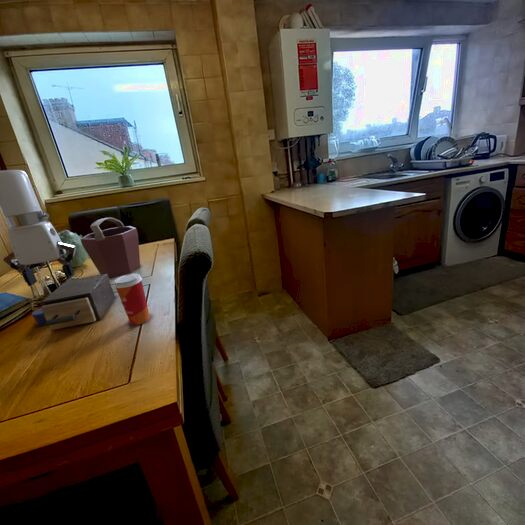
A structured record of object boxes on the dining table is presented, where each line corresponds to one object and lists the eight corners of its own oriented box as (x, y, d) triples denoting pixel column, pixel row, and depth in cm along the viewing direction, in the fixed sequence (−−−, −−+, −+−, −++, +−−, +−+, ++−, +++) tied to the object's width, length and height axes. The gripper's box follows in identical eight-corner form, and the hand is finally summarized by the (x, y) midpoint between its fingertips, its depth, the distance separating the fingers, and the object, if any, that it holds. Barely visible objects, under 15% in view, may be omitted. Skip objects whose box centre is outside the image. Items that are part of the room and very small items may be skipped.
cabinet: (100, 319, 88) (90, 292, 84) (53, 329, 85) (41, 301, 82) (115, 297, 103) (107, 273, 100) (76, 304, 101) (66, 280, 98)
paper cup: (127, 317, 87) (114, 276, 82) (153, 310, 89) (141, 270, 84) (125, 330, 80) (110, 286, 75) (153, 322, 82) (140, 279, 77)
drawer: (88, 330, 80) (79, 306, 78) (42, 339, 79) (30, 316, 76) (110, 299, 99) (103, 279, 97) (73, 306, 98) (65, 286, 95)
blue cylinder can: (33, 327, 88) (28, 316, 87) (42, 318, 94) (37, 308, 92) (52, 323, 89) (47, 312, 88) (60, 314, 94) (56, 304, 93)
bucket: (122, 280, 118) (104, 223, 110) (80, 281, 124) (59, 227, 115) (154, 260, 141) (141, 211, 132) (117, 262, 146) (102, 214, 137)
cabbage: (95, 258, 159) (83, 224, 152) (92, 267, 142) (78, 229, 135) (63, 265, 153) (49, 230, 146) (56, 275, 136) (40, 236, 129)
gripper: (69, 213, 77) (90, 270, 82) (-2, 223, 74) (25, 281, 80) (56, 217, 70) (79, 279, 75) (-22, 228, 67) (9, 292, 73)
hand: (52, 280), depth 78 cm, fingers open, 9 cm apart
